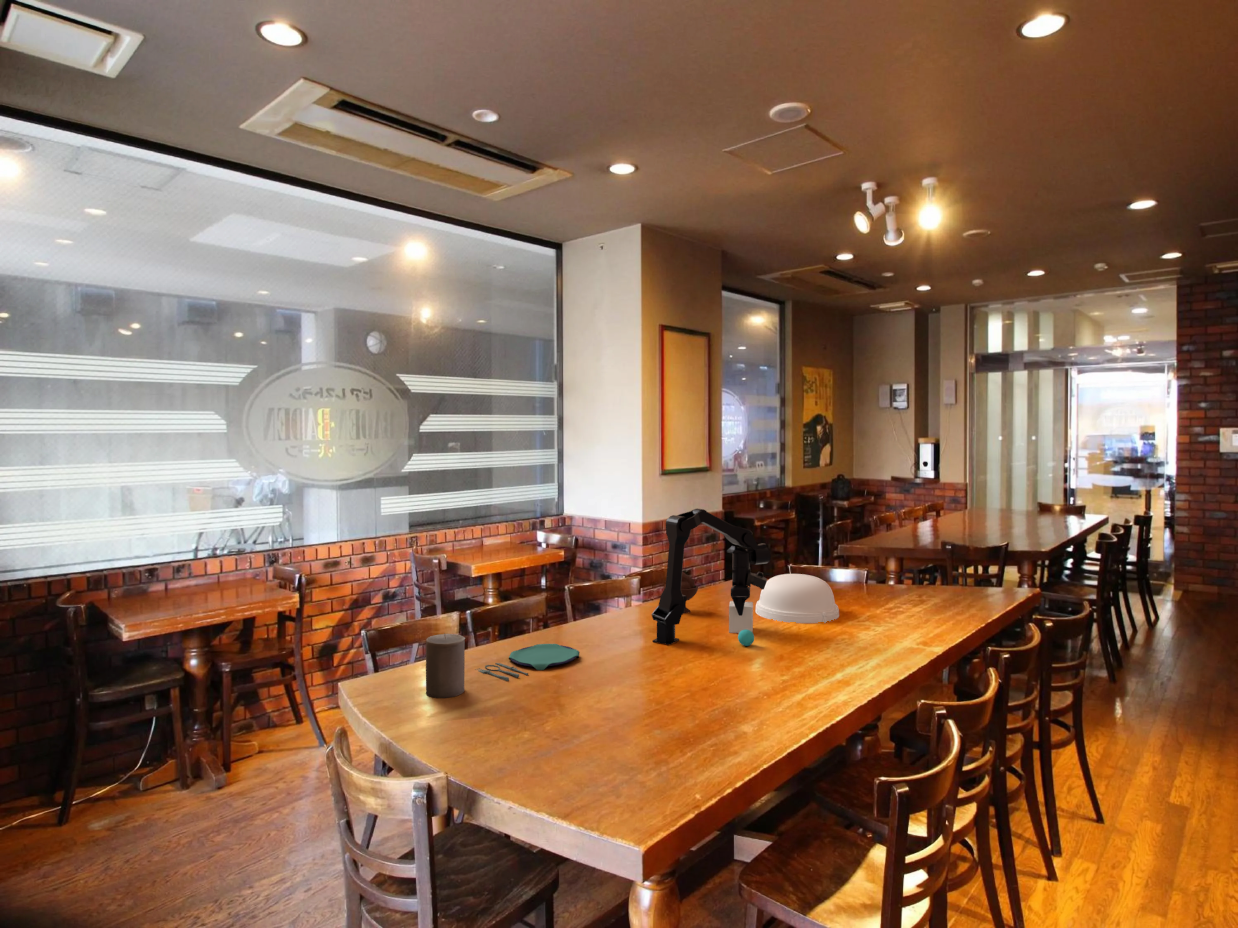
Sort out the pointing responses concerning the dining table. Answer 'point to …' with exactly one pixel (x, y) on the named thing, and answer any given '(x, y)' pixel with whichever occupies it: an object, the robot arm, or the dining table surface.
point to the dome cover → (797, 599)
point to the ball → (746, 637)
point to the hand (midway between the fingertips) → (740, 612)
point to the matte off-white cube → (740, 618)
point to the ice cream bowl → (688, 588)
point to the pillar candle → (445, 665)
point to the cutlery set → (536, 658)
